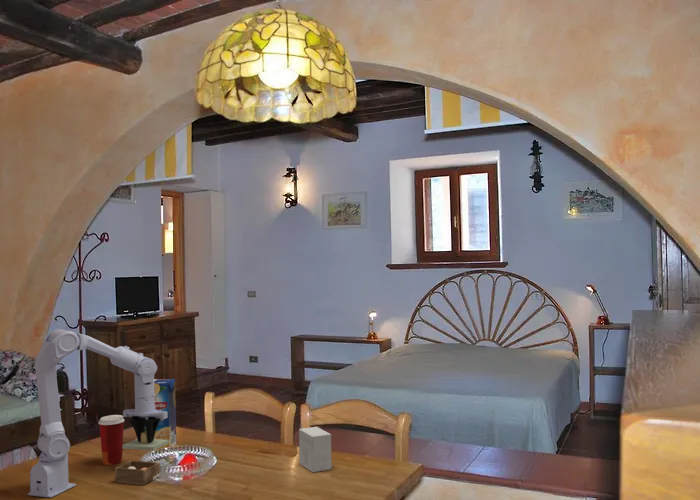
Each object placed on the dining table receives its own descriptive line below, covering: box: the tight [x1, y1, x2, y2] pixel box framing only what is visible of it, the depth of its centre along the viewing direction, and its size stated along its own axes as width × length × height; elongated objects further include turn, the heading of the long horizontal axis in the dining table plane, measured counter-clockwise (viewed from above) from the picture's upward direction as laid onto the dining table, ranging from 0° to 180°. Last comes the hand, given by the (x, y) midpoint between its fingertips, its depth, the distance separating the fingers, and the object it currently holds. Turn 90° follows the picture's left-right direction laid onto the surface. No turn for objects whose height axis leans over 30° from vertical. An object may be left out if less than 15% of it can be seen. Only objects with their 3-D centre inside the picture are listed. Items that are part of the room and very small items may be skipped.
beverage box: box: [145, 378, 178, 448], centre depth 212 cm, size 7×11×22 cm, turn 87°
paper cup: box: [97, 414, 126, 466], centre depth 196 cm, size 8×8×14 cm
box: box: [114, 460, 161, 486], centre depth 180 cm, size 7×10×4 cm
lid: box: [122, 431, 169, 451], centre depth 190 cm, size 8×11×4 cm
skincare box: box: [298, 426, 333, 473], centre depth 187 cm, size 10×6×10 cm, turn 27°
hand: (145, 441), depth 190 cm, fingers closed on lid, 3 cm apart
